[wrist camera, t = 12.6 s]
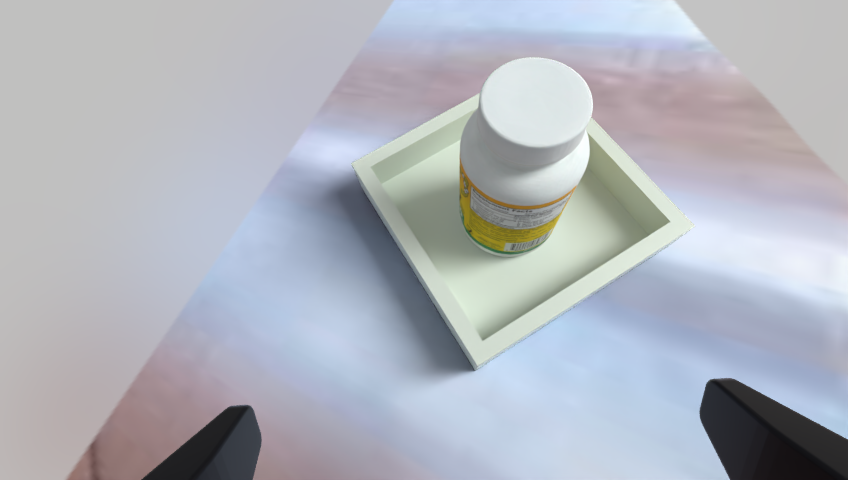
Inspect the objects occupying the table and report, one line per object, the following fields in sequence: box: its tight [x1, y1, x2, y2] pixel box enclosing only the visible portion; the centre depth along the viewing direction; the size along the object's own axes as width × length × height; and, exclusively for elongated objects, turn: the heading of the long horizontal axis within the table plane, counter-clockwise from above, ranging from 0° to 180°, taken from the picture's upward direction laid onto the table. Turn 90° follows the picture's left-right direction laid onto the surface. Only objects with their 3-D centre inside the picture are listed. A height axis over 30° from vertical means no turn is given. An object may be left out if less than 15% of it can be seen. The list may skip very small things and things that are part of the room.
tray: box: [351, 93, 695, 371], centre depth 23 cm, size 13×13×3 cm
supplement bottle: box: [459, 57, 593, 257], centre depth 19 cm, size 5×5×10 cm
